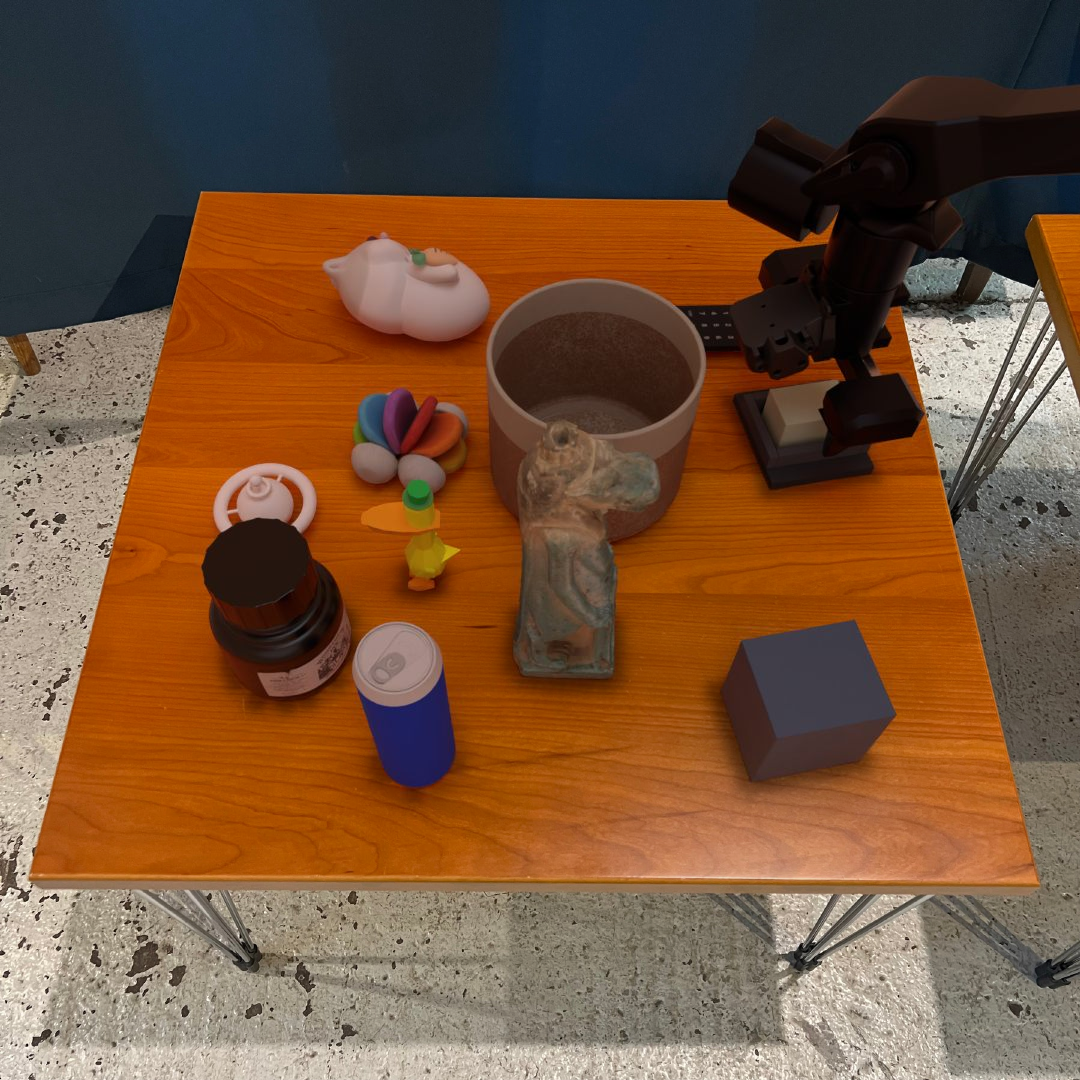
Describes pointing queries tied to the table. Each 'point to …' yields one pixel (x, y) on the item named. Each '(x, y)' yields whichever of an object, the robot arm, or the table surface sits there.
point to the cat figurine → (409, 290)
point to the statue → (573, 549)
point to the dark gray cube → (805, 700)
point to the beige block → (796, 414)
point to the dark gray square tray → (795, 450)
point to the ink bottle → (275, 610)
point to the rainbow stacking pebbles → (408, 439)
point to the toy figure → (414, 532)
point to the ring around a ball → (265, 496)
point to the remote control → (713, 326)
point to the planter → (595, 381)
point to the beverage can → (406, 702)
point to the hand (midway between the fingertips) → (808, 412)
